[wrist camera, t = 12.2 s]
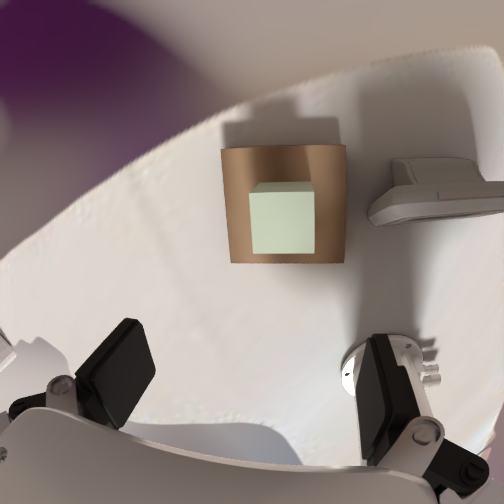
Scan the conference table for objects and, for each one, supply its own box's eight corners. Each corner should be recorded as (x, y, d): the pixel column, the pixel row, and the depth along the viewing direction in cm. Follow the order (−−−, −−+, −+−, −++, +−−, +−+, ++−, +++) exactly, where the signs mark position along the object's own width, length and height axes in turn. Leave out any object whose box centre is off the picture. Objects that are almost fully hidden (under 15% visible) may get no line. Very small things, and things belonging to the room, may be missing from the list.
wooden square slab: (341, 145, 28) (345, 145, 25) (340, 252, 32) (343, 263, 29) (228, 148, 30) (220, 149, 27) (236, 253, 34) (230, 263, 31)
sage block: (311, 181, 27) (314, 191, 21) (311, 231, 29) (314, 253, 23) (259, 182, 28) (248, 193, 22) (262, 231, 29) (253, 253, 24)
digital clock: (358, 220, 30) (383, 257, 21) (366, 139, 27) (398, 139, 17) (473, 235, 28) (520, 270, 18) (484, 165, 25) (539, 180, 15)
